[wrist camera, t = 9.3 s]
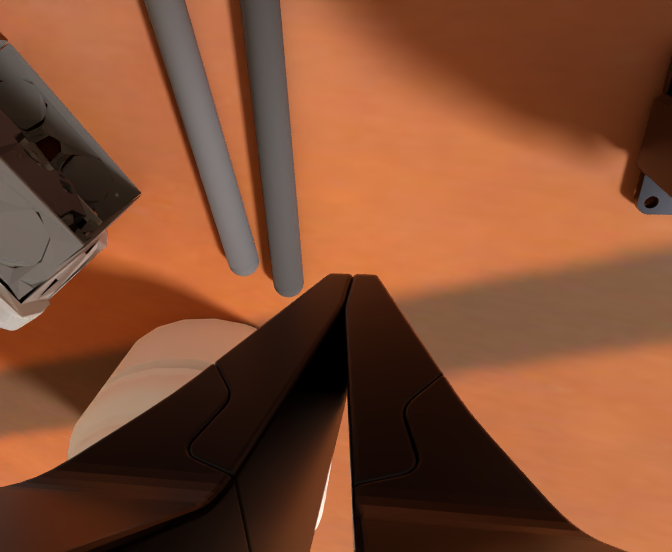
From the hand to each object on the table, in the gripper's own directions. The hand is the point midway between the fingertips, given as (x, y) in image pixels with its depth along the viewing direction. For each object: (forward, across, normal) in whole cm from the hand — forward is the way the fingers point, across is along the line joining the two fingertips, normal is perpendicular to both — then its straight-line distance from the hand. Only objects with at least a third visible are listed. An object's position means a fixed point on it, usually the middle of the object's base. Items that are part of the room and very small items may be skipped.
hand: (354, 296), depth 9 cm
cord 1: (+13, +8, 0) cm, 15 cm away
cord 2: (+13, +4, 0) cm, 14 cm away
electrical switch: (+13, +14, 0) cm, 19 cm away
